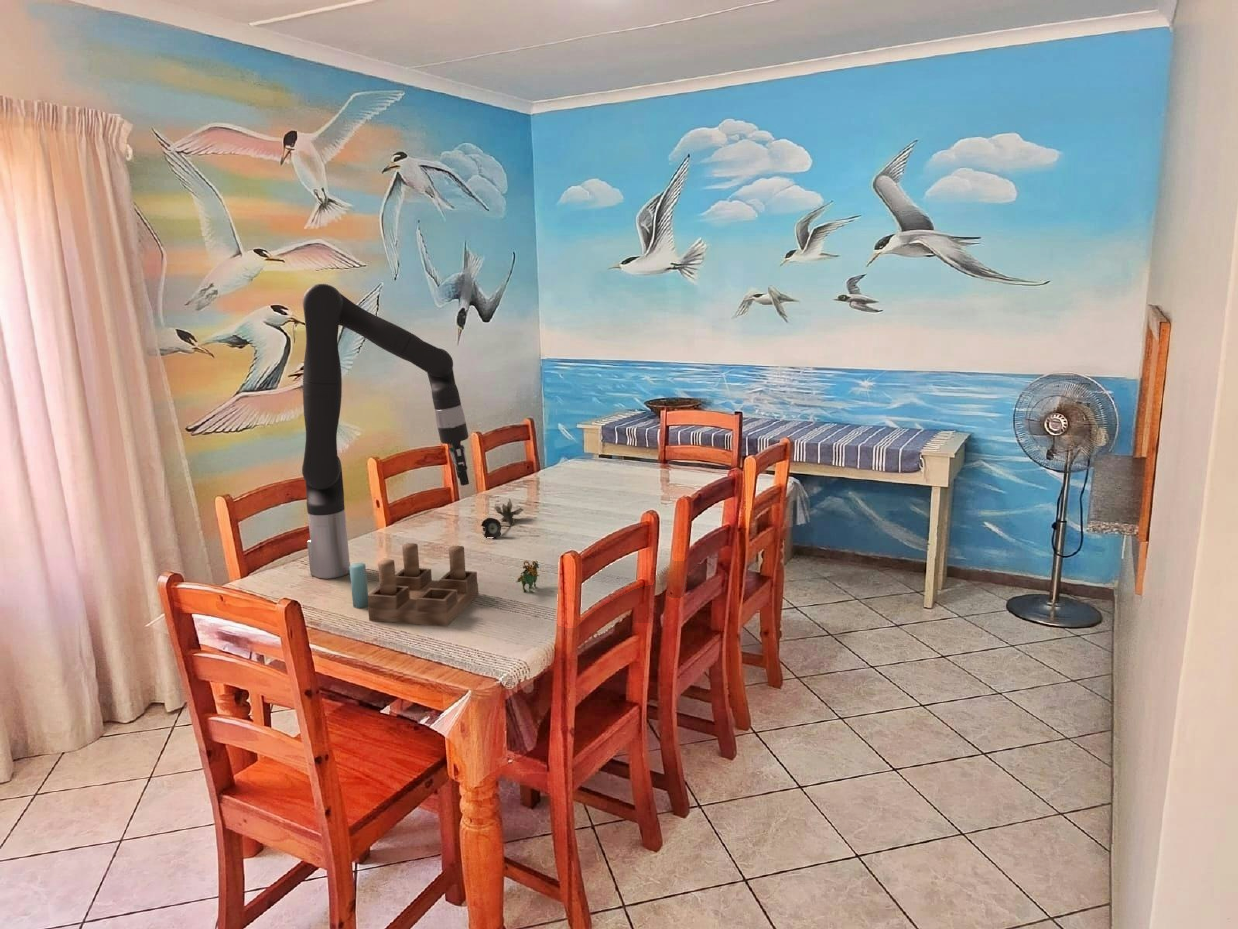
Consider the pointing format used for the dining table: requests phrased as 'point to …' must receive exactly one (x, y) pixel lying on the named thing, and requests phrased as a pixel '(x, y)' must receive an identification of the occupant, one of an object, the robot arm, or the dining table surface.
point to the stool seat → (422, 590)
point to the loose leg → (359, 585)
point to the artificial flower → (494, 525)
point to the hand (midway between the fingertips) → (463, 481)
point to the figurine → (529, 575)
